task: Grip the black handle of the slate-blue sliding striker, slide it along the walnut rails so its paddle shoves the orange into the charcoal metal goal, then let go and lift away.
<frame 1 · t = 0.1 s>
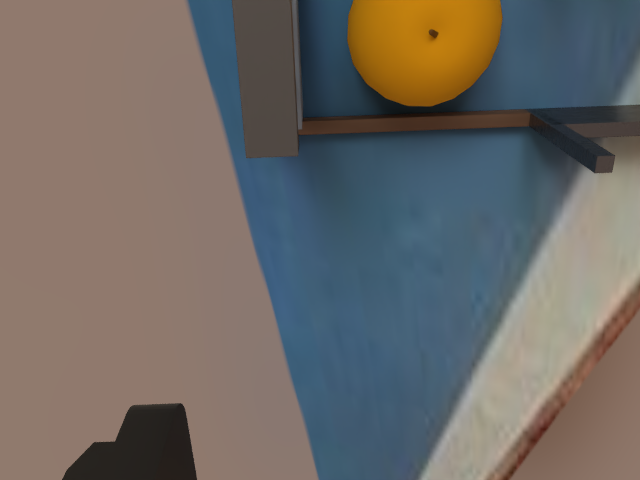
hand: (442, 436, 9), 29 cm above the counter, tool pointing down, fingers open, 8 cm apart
orange: (411, 22, 34), on the counter
striker: (275, 41, 27), point 7 cm above the counter, slide at 0.0 cm
goal: (613, 15, 34), on the counter
rails: (342, 25, 34), on the counter
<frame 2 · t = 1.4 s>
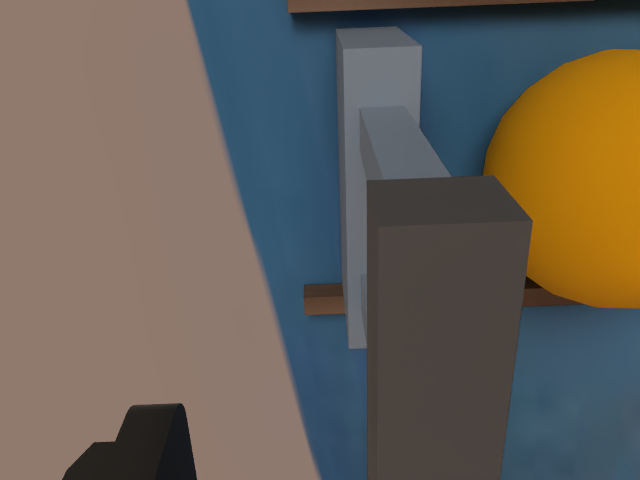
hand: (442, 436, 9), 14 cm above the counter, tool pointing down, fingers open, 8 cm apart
orange: (566, 148, 22), on the counter
striker: (388, 242, 15), point 7 cm above the counter, slide at 0.0 cm
rails: (460, 155, 22), on the counter
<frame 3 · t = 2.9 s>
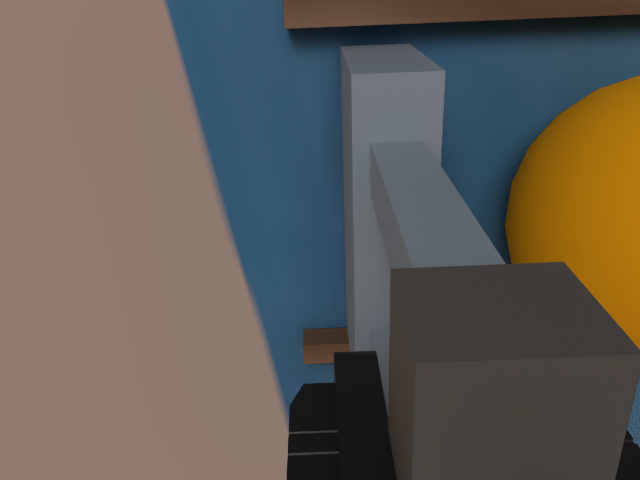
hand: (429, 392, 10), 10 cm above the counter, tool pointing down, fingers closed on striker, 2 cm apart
orange: (599, 179, 19), on the counter
striker: (405, 303, 13), point 7 cm above the counter, slide at 0.0 cm, touching gripper
rails: (479, 187, 19), on the counter
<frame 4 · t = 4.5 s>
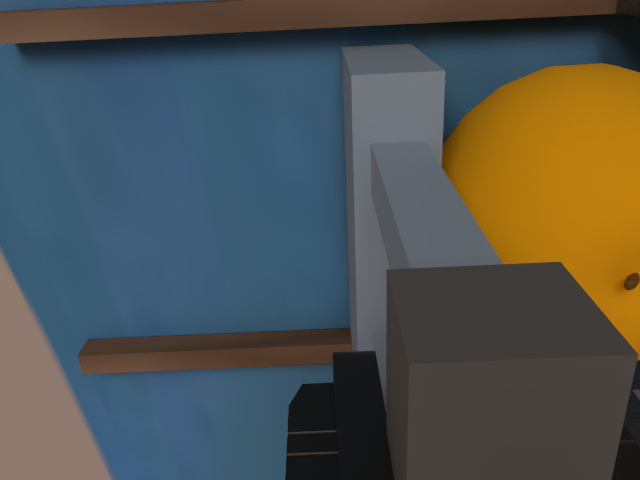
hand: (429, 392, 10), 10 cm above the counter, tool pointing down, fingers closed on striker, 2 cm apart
orange: (526, 175, 19), on the counter, touching striker
striker: (407, 304, 13), point 7 cm above the counter, slide at 8.1 cm, touching orange, gripper
rails: (236, 198, 19), on the counter
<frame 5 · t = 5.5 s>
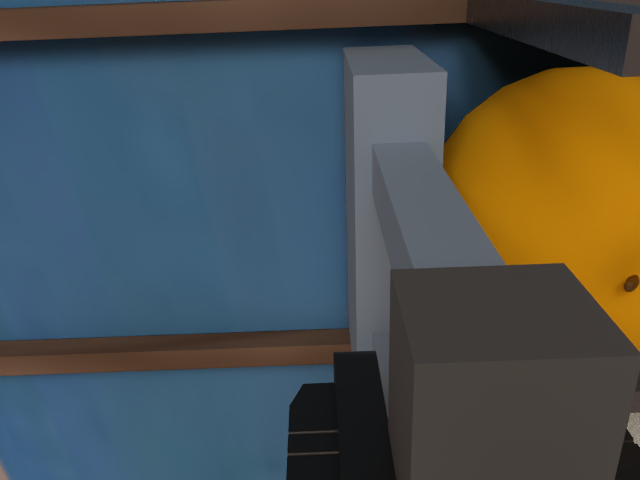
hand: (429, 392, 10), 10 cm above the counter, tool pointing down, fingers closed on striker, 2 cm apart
orange: (525, 176, 19), on the counter, touching striker
striker: (407, 304, 13), point 7 cm above the counter, slide at 12.1 cm, touching orange, gripper
goal: (586, 184, 19), on the counter
rails: (111, 202, 19), on the counter
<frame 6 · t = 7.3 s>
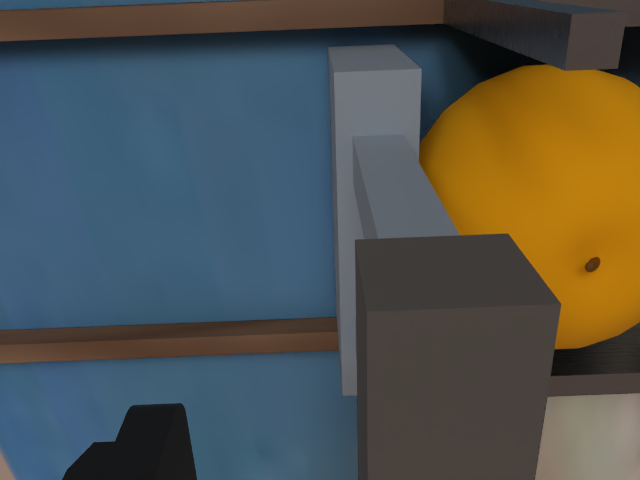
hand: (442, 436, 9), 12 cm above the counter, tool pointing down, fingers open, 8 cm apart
orange: (504, 170, 20), on the counter
striker: (385, 286, 14), point 7 cm above the counter, slide at 12.2 cm
goal: (561, 177, 20), on the counter
rails: (107, 195, 20), on the counter
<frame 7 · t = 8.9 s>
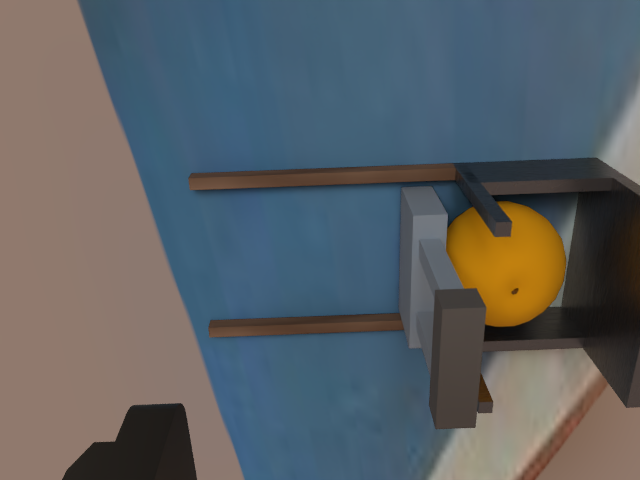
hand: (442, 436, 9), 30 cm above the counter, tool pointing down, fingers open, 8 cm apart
orange: (484, 240, 41), on the counter
striker: (433, 299, 34), point 7 cm above the counter, slide at 12.2 cm
goal: (512, 244, 41), on the counter
rails: (288, 252, 41), on the counter
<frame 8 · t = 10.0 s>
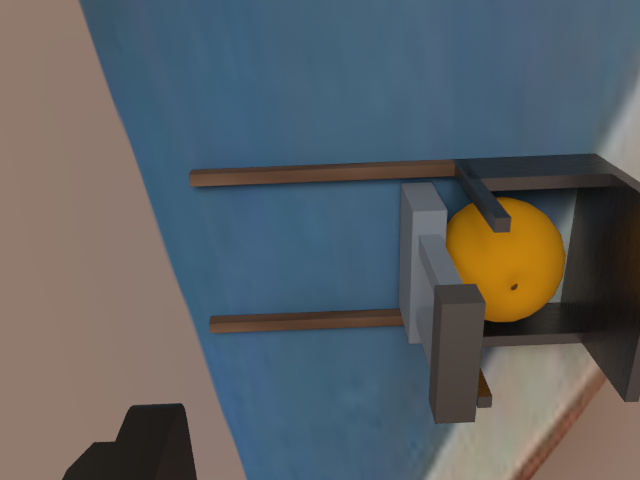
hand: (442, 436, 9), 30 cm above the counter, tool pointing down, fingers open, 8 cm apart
orange: (483, 236, 41), on the counter
striker: (432, 295, 35), point 7 cm above the counter, slide at 12.2 cm
goal: (511, 240, 41), on the counter
rails: (288, 249, 41), on the counter
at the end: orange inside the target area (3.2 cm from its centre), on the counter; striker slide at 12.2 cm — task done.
